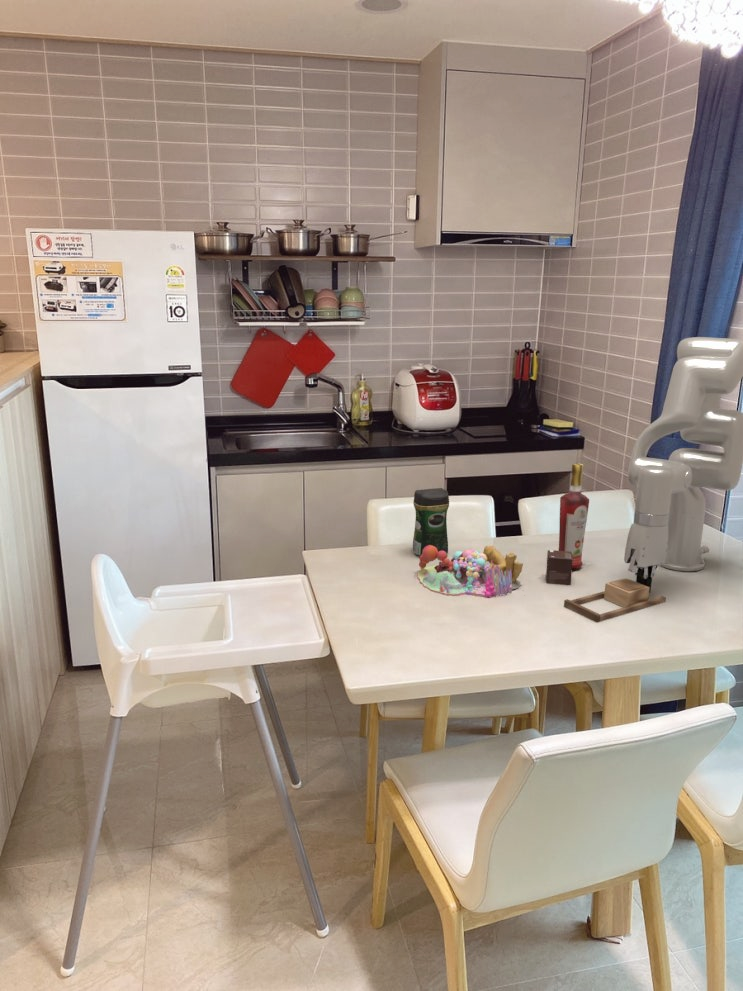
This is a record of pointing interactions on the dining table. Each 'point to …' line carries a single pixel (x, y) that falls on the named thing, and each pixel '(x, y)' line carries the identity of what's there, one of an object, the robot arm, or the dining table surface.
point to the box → (559, 567)
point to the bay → (576, 607)
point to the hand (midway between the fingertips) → (642, 591)
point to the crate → (626, 592)
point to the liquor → (573, 518)
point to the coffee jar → (430, 519)
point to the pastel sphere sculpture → (469, 572)
